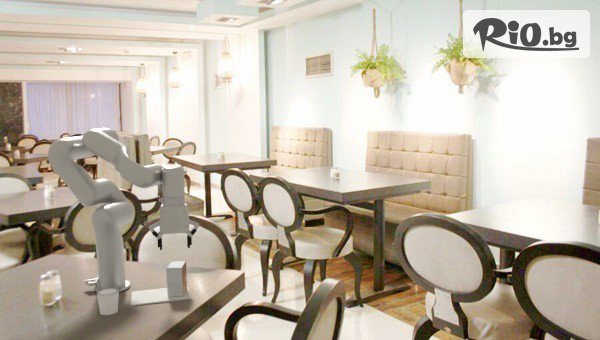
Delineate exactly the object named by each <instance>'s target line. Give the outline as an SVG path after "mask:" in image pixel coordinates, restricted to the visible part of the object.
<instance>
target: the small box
mask: <svg viewBox="0 0 600 340" xmlns="http://www.w3.org/2000/svg"><path fill="white" fill-rule="evenodd" d="M165 269H166V270H165V271H166V288H167V293H168V296H183V295H184V293H185V291H186V290H187V285H188V279H187V261H184V260H182V261H181V260H180V261H170V263H169V264H168V265H167V267H166V268H165Z"/></svg>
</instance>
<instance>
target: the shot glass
mask: <svg viewBox="0 0 600 340" xmlns="http://www.w3.org/2000/svg"><path fill="white" fill-rule="evenodd" d="M119 293H120V292H119V290H118V289H115V288H107V289H103V290H100V291H98V292H96V297H97V302H98V304H97V305H98V308H99V309H98V310H99V314H100V315H102V316H109V315H111V316H112V315H114V314H116V313H118V311H119V297H120V296H119Z"/></svg>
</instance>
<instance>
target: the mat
mask: <svg viewBox="0 0 600 340" xmlns="http://www.w3.org/2000/svg"><path fill="white" fill-rule="evenodd" d="M130 299H131V300H130V306H131V307H136V305H137V306H145V305H152V304H159V303H160V304H163V303H169V302H177V301H186V300H188V301H189V300H192V297H191V292H190V289H189V285H188V284H187V290H186V291H185V293H184V295H183V296H168V293H167V287H162V288H161V287H160V288H152V289H142V290H134V291H131V298H130Z"/></svg>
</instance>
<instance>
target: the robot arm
mask: <svg viewBox="0 0 600 340" xmlns="http://www.w3.org/2000/svg"><path fill="white" fill-rule="evenodd" d="M130 151H131V150H130V147H129V146H128V145H126V144H124V143H123V142H121V141H120V138H119V134H118V133H117V132H116V131H115V130H114V129H112V128H108V127H102V128H101V127H100V128H92V129H88V130H87V131H85V133H84V134H83V135H78V136H69V137H62V138H59V139H56V140H54V141H53V142H51V144H50V146H49V147H48V151H47V158H48V159H47V160H48V163H49V165H50V167H51V169H52V170H53V171H54V173H55V174H56V175H57V177H59V178H60V180H62V181H63V182H64V184H65V185H66V187H68V189H69V190H70V191H71V193H72V194H73V195H74V197H75V198H76V199H77V200H78V202H79V203H80V204H81V205H82V206H84V207H85V208H95V207H97V208H96V209H95V210H94V211H93V212H92V214H91V226H92V230H93V233H94V238H95V251H96V264H97V277H94V278H89V279H85V280H84V281H85V282H84V283H85V286H88V287H92V286H94V287H93V289H94V292H95V293H97V292H98V291H100V290H103V289H107V288H115V289H118V290H119V293H121V292H123V291H126V290H128V289H129V288H130V287H131V282H130V281H129V280H126V268H125V267H126V265H125V252H124V251H125V250H124V249H125V247H124V239H123V235H122V233H121V231H120V227H122V226H125V225H127V224H130V222H132V221H133V218H134V217H135V210H134V207H133V205H132V204H131V202H130V201H129V200H128V198H127V197H126V196H125V194H124V193H123V192H122V190H121V189H120V188H119V186H118V185H116V183H114V182H113V181H112V180H110V179H107V178H98V179H95V178H93V177H92V175H90V174H89V172H88V171H87V170H86V169H85V168H84V167H83V166H82V165H80V164H78V163H77V162H76V161H75V160H82V159H87V158H90V157H93V156H96V157H98V158H100V159H102V160H103V161H105V162H107V163H109V164H110V165H112V166H114V169H115V171H116V173H118V175H119V176H120V177H121V178H122V179H123V180H125V181H127V182H128V183H130V184H131V185H134V187H137V188H141V189H149V188H151V187H156V186H159V185H162V190H161V191H162V197H158V203H162V204H161V205H160V209H159V220H157V221H156V222H154V223H153V224H151V225H149V226H148V229H149V231H150V232H151V234H152V235H153V236H154V237H155V239H156V240H157V248H159V251H162V250H163V239H162V237H163V235H175V234H176V235H177V234H186V235H187V236H186V243H187V244H186V245H187V248H188V249H190V248H191V246H192V243H193V241H192V239H193V238H192V237H193V236H194V235H195V233H196V232H197V231H198V230H199V229H198V228H199V227H200V223H199V222H197V221H194V220H192V219H190V216H189V215H190V214H189V207H188V204H187V203H186V201H185V199H186V198H185V169H184V167H183V166H181V165H167V164H161V163H153V164H148V165H141V164H140V163H138V162H136V161H135V160H133V159H131V158H130V157H129V156H130ZM98 206H99V207H98ZM190 225H192V226H193V228H192V229H191V230H190ZM157 227H159V232H157V231H156V230H155V228H157Z"/></svg>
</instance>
